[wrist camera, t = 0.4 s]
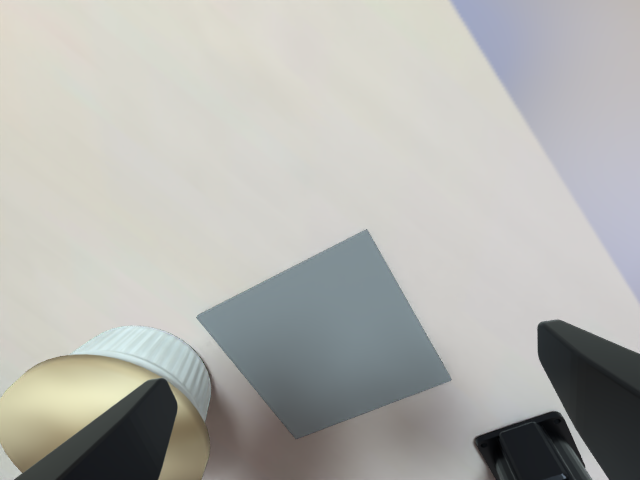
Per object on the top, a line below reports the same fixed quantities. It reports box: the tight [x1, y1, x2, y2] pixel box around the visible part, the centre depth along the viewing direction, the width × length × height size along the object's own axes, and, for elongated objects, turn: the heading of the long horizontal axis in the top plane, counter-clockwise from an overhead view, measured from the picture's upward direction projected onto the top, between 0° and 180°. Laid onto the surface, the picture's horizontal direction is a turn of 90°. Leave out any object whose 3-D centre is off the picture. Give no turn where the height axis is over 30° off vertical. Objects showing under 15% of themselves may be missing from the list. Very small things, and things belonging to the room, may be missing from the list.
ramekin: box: [70, 326, 211, 423], centre depth 25 cm, size 11×11×5 cm
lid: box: [0, 354, 210, 480], centre depth 21 cm, size 12×12×4 cm
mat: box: [196, 229, 451, 439], centre depth 25 cm, size 13×13×1 cm
